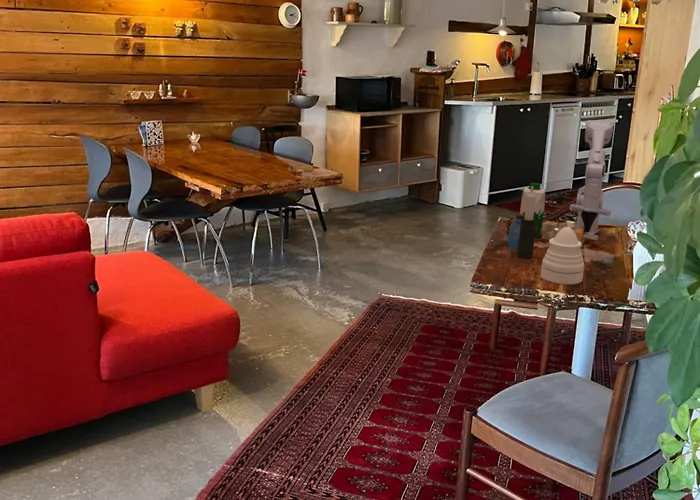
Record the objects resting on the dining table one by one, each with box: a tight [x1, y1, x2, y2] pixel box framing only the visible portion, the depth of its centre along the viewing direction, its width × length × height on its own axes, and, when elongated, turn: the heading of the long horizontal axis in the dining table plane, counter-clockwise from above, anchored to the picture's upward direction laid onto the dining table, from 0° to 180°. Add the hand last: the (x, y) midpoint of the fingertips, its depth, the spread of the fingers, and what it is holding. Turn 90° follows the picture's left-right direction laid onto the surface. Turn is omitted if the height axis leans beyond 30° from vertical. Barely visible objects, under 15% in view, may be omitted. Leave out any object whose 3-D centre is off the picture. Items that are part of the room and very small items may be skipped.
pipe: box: [554, 227, 599, 242], centre depth 254 cm, size 20×2×2 cm, turn 54°
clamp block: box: [541, 220, 559, 241], centre depth 259 cm, size 4×5×6 cm
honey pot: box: [540, 220, 585, 285], centre depth 213 cm, size 13×13×18 cm
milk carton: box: [519, 182, 546, 239], centre depth 261 cm, size 9×9×20 cm
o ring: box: [576, 226, 587, 244], centre depth 252 cm, size 2×6×6 cm, turn 144°
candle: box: [516, 186, 536, 260], centre depth 232 cm, size 5×5×25 cm
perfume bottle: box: [507, 213, 525, 250], centre depth 246 cm, size 6×6×12 cm
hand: (587, 231), depth 250 cm, fingers closed
